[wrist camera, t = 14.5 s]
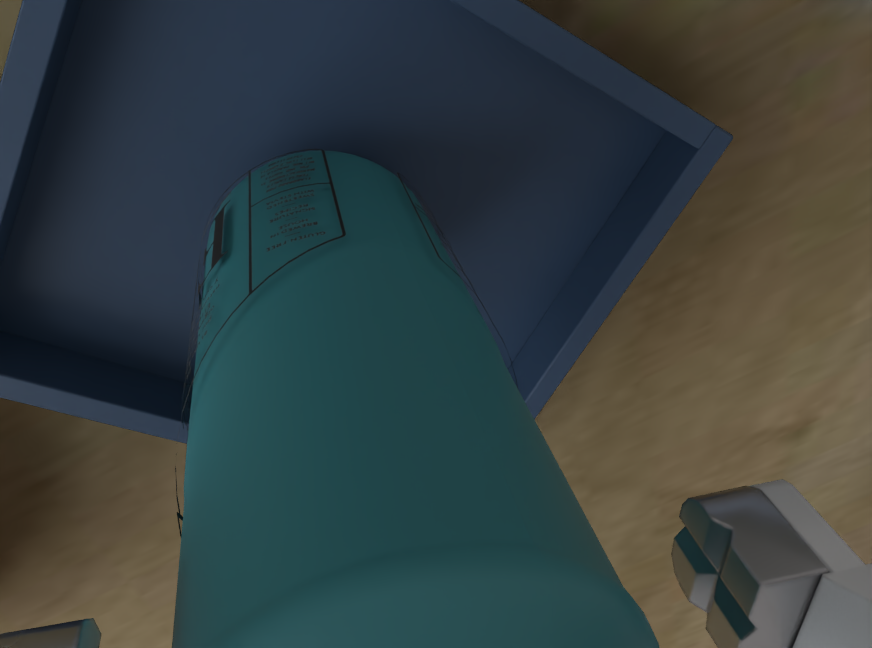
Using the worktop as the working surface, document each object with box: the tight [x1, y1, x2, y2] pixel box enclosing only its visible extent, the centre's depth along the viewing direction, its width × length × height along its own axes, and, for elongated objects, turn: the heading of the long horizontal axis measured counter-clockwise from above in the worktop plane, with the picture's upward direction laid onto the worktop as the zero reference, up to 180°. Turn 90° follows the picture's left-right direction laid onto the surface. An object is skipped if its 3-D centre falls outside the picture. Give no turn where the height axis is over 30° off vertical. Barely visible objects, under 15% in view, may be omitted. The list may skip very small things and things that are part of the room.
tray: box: [0, 0, 733, 444], centre depth 21 cm, size 18×16×3 cm
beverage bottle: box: [172, 149, 659, 648], centre depth 13 cm, size 6×7×20 cm
